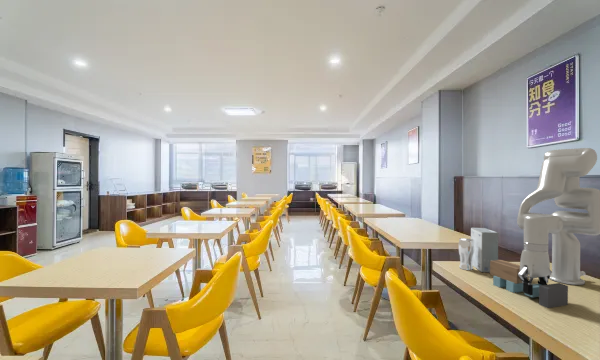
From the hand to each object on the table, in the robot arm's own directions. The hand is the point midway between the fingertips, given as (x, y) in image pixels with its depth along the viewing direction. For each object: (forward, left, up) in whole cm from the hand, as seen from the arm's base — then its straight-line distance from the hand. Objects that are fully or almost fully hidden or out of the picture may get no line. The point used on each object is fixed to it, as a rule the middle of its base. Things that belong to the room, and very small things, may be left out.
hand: (535, 292), depth 115 cm
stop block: (0, +7, -2) cm, 7 cm away
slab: (0, -11, +2) cm, 11 cm away
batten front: (0, -7, -2) cm, 8 cm away
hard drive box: (-13, -35, -2) cm, 37 cm away
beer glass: (-4, -37, -2) cm, 37 cm away
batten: (0, 0, -1) cm, 1 cm away
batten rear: (0, -13, -2) cm, 14 cm away
